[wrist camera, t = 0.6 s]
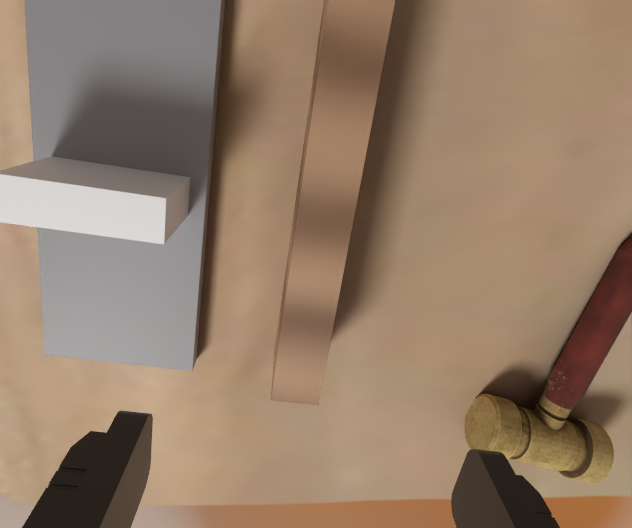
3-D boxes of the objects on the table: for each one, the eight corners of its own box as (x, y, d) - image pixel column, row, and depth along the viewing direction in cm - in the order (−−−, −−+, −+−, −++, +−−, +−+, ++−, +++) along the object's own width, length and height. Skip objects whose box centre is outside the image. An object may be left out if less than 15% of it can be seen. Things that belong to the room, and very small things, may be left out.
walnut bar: (326, -20, 25) (335, -50, 20) (378, -10, 26) (402, -37, 20) (274, 348, 34) (270, 400, 28) (314, 353, 34) (318, 405, 29)
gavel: (624, 194, 27) (755, 243, 29) (577, 184, 32) (693, 227, 33) (479, 469, 33) (596, 497, 35) (456, 428, 37) (561, 455, 39)
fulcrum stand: (36, -68, 24) (-61, -126, 17) (228, -30, 25) (204, -72, 18) (55, 343, 33) (-5, 407, 26) (196, 359, 34) (173, 424, 27)
